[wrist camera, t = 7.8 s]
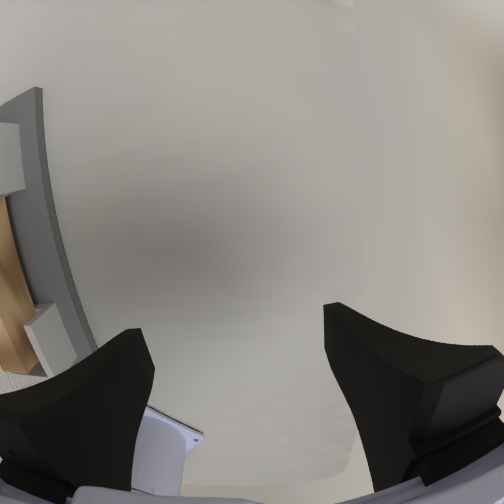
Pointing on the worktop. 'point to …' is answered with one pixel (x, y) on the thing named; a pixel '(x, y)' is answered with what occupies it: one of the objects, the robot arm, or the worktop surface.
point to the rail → (13, 304)
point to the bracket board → (40, 242)
